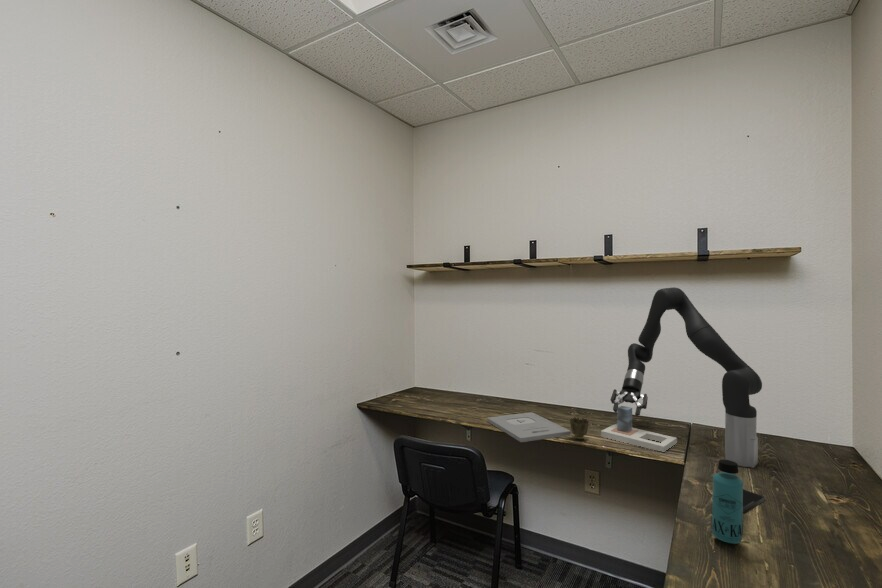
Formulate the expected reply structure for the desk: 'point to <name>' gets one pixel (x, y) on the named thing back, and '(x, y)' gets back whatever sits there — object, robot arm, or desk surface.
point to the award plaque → (528, 427)
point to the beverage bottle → (727, 503)
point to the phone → (751, 500)
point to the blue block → (624, 419)
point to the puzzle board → (640, 438)
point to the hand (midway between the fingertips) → (625, 413)
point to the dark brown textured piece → (579, 427)
